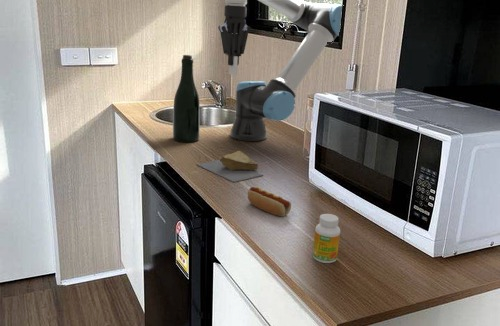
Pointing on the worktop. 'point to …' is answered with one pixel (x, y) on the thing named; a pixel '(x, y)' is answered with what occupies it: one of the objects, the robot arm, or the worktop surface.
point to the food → (268, 202)
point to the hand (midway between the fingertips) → (232, 74)
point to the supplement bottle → (326, 239)
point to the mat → (229, 171)
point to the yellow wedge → (238, 161)
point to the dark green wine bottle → (186, 105)
